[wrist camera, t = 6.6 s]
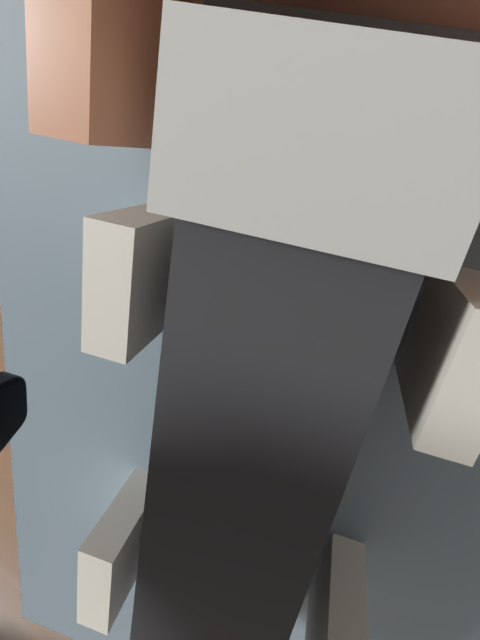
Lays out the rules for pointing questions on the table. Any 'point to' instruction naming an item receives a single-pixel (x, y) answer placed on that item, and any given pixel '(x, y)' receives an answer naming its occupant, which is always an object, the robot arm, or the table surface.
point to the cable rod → (286, 289)
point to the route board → (141, 386)
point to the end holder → (143, 60)
